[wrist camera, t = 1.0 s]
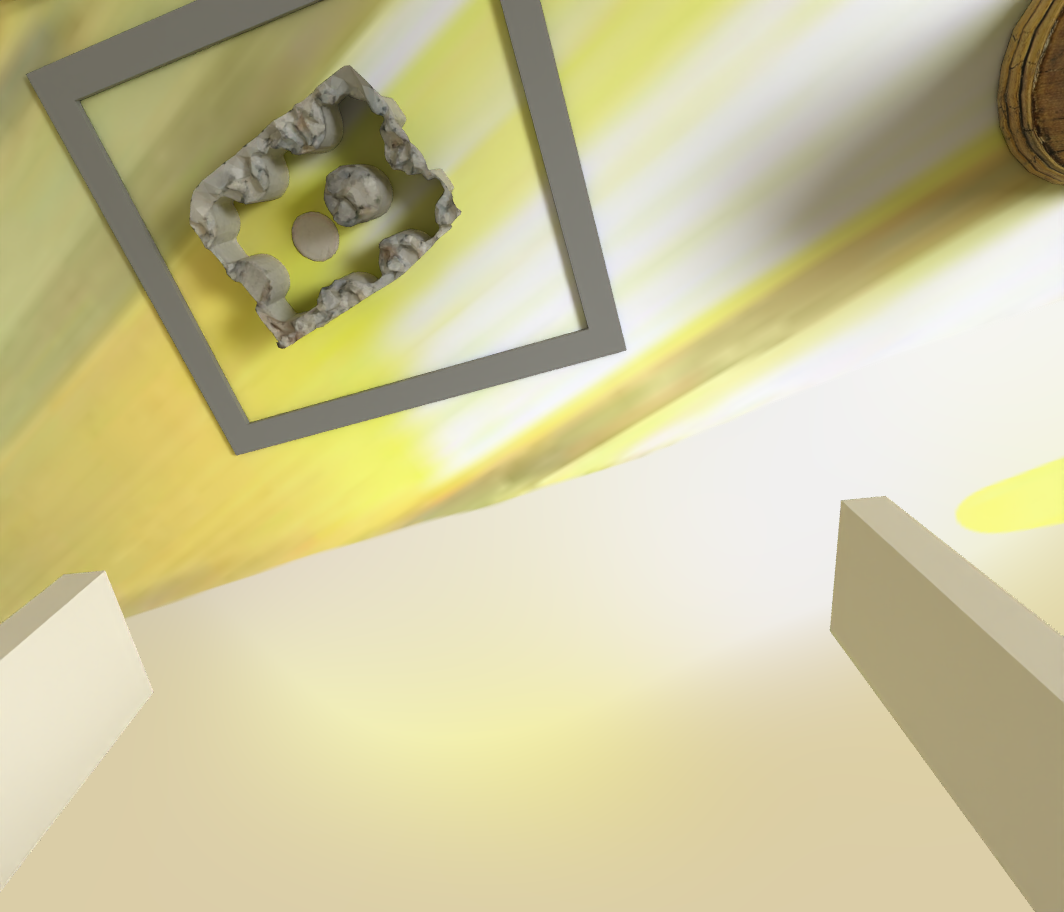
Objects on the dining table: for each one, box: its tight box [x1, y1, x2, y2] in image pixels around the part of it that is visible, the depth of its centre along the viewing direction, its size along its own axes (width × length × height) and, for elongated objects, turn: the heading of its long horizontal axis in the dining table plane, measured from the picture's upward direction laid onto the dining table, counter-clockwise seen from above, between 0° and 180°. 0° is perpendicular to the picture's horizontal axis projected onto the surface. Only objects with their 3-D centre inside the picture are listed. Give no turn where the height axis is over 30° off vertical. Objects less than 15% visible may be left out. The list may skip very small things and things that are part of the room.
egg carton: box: [190, 65, 461, 349], centre depth 28 cm, size 11×8×4 cm
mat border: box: [26, 0, 626, 455], centre depth 29 cm, size 22×19×1 cm
